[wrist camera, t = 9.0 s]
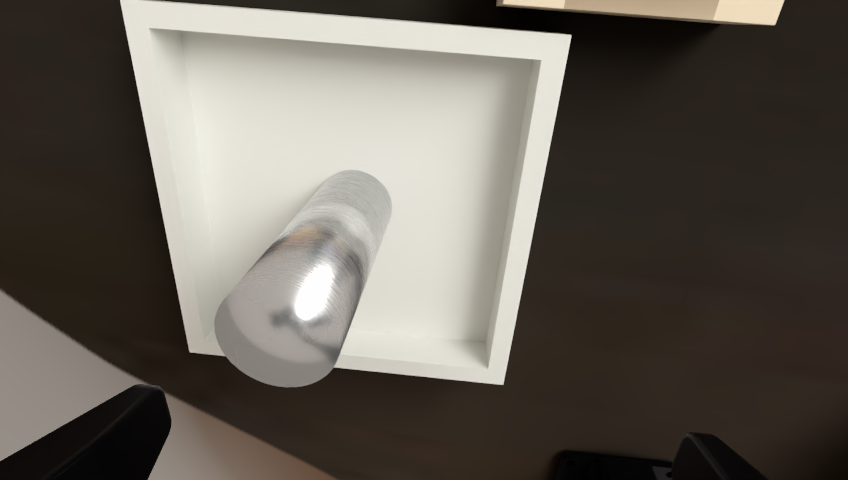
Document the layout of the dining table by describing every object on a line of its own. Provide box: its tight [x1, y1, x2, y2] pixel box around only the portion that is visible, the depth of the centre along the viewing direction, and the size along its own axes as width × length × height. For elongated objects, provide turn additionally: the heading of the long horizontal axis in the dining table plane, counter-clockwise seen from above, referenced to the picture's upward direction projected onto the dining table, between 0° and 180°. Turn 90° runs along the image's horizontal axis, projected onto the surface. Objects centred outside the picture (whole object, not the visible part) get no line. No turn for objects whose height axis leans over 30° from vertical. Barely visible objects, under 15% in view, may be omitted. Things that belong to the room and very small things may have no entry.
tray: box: [120, 0, 572, 385], centre depth 19 cm, size 15×15×2 cm
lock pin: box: [214, 170, 392, 387], centre depth 15 cm, size 3×3×9 cm
